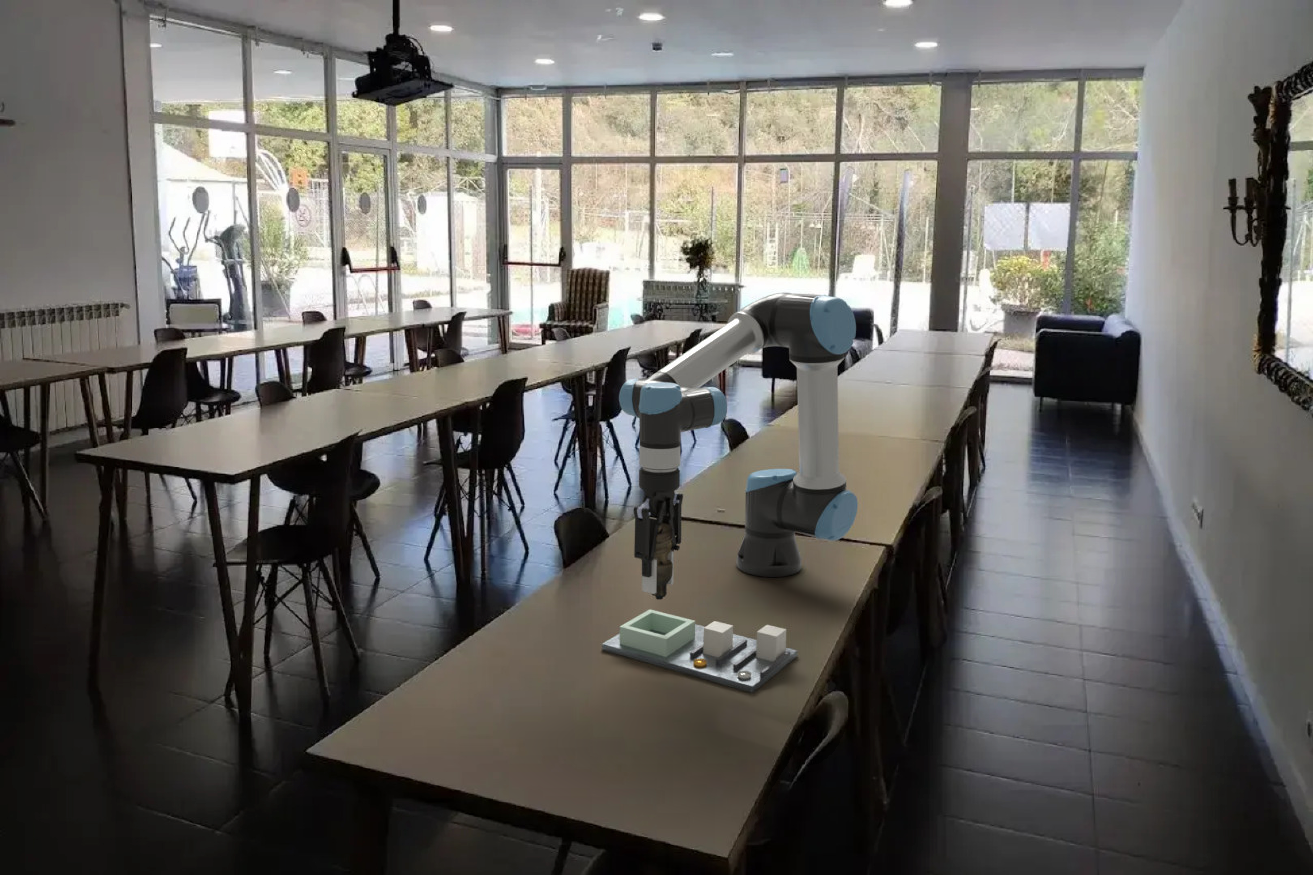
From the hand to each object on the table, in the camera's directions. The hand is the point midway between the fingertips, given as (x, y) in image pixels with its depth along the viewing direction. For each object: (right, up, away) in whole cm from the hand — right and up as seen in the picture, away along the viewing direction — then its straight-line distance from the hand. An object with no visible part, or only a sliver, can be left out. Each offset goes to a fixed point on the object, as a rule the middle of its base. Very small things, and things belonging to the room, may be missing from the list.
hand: (657, 587), depth 192 cm
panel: (+8, -12, 0) cm, 15 cm away
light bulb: (0, -2, +1) cm, 2 cm away
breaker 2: (+21, -12, -4) cm, 24 cm away
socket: (0, -11, +2) cm, 11 cm away
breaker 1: (+11, -12, -2) cm, 16 cm away
